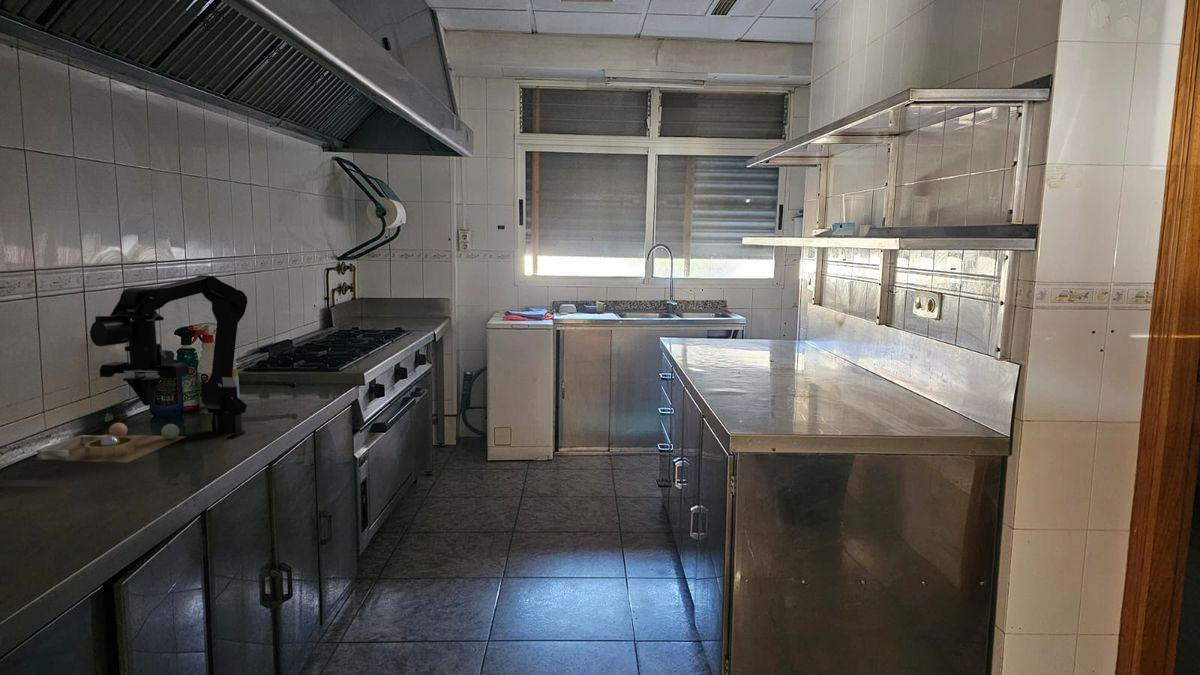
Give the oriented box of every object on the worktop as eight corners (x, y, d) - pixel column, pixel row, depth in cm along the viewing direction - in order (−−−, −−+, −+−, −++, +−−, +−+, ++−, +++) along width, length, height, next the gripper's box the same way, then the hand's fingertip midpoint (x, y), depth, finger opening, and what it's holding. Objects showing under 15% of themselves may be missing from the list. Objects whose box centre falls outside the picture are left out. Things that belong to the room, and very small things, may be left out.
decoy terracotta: (131, 436, 191) (130, 421, 191) (120, 440, 187) (119, 425, 187) (117, 435, 192) (115, 420, 191) (105, 439, 188) (104, 424, 187)
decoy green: (183, 437, 191) (182, 422, 190) (173, 441, 187) (172, 426, 186) (168, 437, 191) (167, 422, 190) (158, 441, 187) (157, 425, 186)
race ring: (145, 446, 182) (144, 436, 182) (116, 458, 172) (115, 448, 172) (106, 445, 182) (105, 435, 182) (75, 457, 173) (74, 447, 172)
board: (187, 440, 192) (186, 429, 191) (127, 467, 169) (126, 453, 169) (104, 438, 193) (103, 426, 193) (34, 464, 171) (33, 451, 170)
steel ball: (124, 449, 179) (123, 433, 179) (113, 453, 175) (111, 437, 175) (109, 450, 179) (107, 434, 179) (97, 454, 175) (95, 437, 175)
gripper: (200, 337, 180) (204, 399, 182) (128, 335, 182) (133, 397, 184) (171, 343, 169) (176, 409, 171) (95, 342, 171) (100, 407, 173)
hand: (147, 405), depth 175 cm, fingers closed
